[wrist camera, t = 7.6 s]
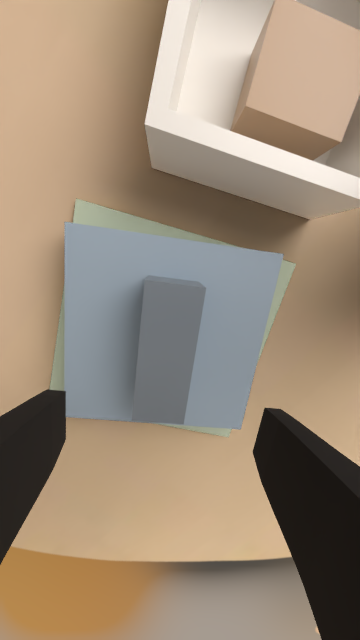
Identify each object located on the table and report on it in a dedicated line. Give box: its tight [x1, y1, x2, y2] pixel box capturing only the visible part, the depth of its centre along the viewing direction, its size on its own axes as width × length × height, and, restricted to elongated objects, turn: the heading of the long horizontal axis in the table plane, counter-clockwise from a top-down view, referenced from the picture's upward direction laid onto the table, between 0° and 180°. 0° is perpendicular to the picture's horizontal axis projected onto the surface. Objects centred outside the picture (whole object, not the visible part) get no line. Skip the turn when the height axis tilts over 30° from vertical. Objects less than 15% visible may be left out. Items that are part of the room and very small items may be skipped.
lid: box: [64, 222, 284, 429], centre depth 14 cm, size 12×12×5 cm
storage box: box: [145, 0, 360, 219], centre depth 11 cm, size 11×11×5 cm
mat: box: [49, 198, 296, 437], centre depth 17 cm, size 15×15×1 cm
